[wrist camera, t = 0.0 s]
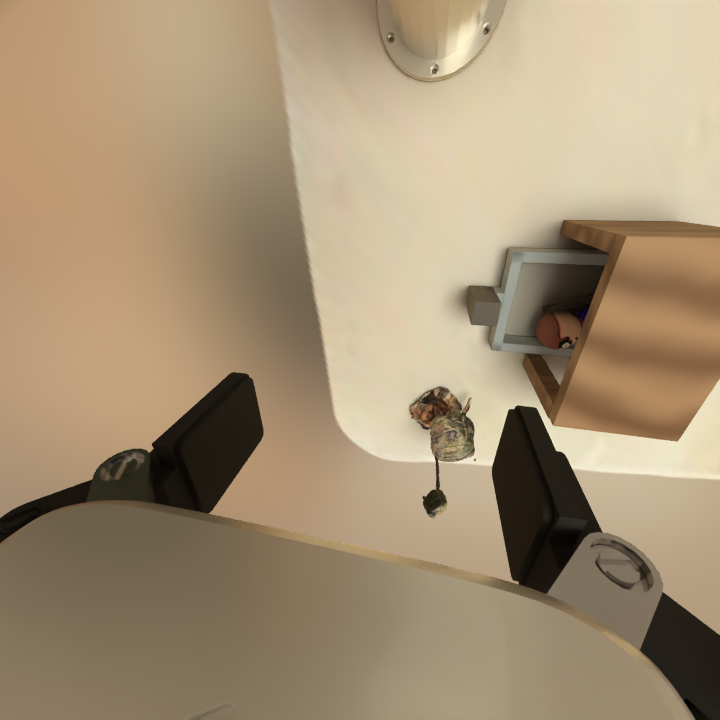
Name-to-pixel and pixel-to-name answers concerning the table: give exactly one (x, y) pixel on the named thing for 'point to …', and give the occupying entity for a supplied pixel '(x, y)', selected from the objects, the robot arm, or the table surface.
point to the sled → (496, 301)
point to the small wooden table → (641, 332)
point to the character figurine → (562, 323)
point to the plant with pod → (444, 436)
